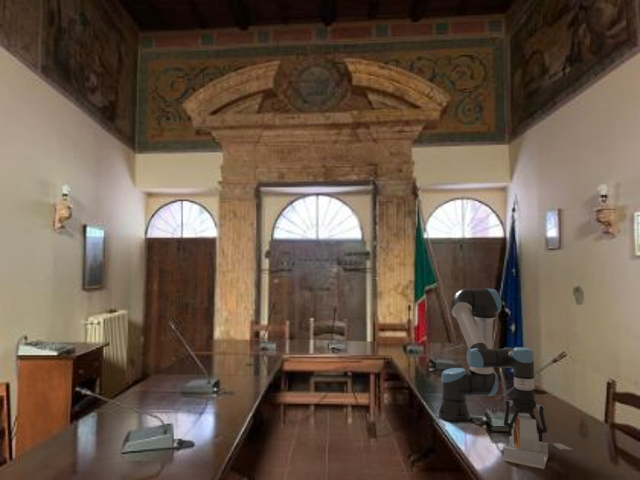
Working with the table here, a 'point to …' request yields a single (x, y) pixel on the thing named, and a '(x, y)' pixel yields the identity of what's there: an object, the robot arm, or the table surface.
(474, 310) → the robot arm
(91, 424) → the table surface
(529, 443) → the small box
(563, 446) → the map
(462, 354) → the table surface
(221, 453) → the table surface
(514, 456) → the end holder
